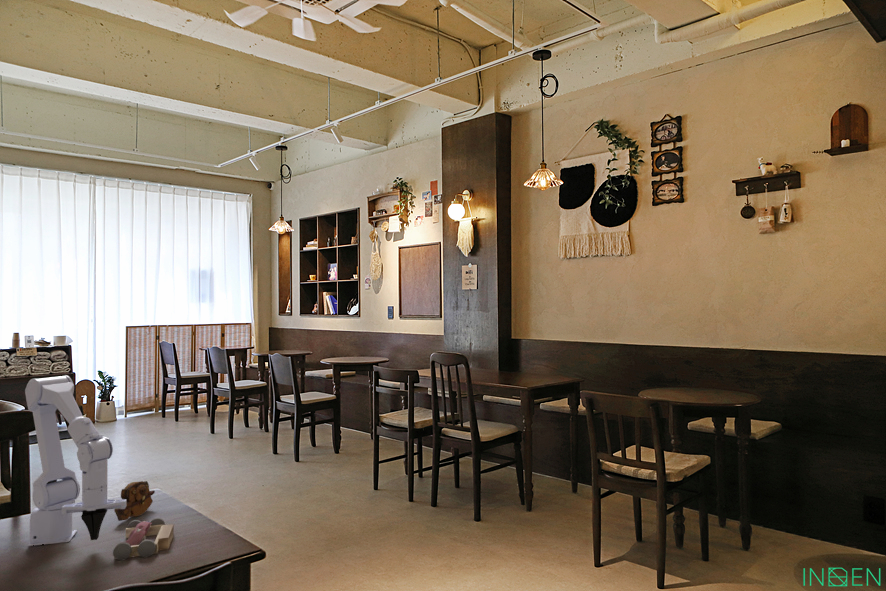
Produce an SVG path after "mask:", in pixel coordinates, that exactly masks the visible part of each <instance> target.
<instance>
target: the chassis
mask: <svg viewBox="0 0 886 591" xmlns="http://www.w3.org/2000/svg"><path fill="white" fill-rule="evenodd" d="M141 522H142V521H141V520H139V519H134V520H131V521H130V522H129V523H128V525H127V526H126V528H125V539H129V535H130V533H131V532H132V531H133V530H135V528H136V526H137V525H138V524H139V523H141ZM149 522H150V523H152V524H151V526H150V529H149V531H148V532H147V533H146V535H145V537H149V536H150V537H151V536H156V538H155V540H154V541H153V540H152V539H145V540H144V541H143V540H142V542H141V543H140V544H139V545H134V546H131V545H130V544H128V543H126V542H125V541H123V542H119V543H117V544H116V545H115V547H114V548H113V551H112V556H113V557H114V560H115V559H116V560H118V561H124V560H127V559H128V558H132V557H133V556H134V557H140V558H149V557H150V556H152V555H156V554H157V555H158V553H159V551H163V550H169V549H170V546H171V543H172V541H173V538H174V534H175V533H174V524H170V523H169V524H166V522H165V520H164V519H163V518H161V517H155V518H152V519H151V520H150V521H149ZM134 557H133V558H134Z"/></svg>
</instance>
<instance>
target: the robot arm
mask: <svg viewBox="0 0 886 591" xmlns="http://www.w3.org/2000/svg"><path fill="white" fill-rule="evenodd" d="M74 391H75V384H74V382H73V379H72V378H71V377H70V376H69V375H67V374H64V375H62V376H61V375H60V376H51V377H42V378H31V379H30V380H29V381H28V383H27V384H26V387H25V389H24V394H25V400H26V406H27V410H28V411H30V412H32V416H33V423H34V427H35V429H34V430H35V433H36V434H35V435H36V440H37V447H38V451H39V458H40V464H41V468H42V469H41V470H42V472H41V474H40V475H39V476H38V477H37V478H36V479H35V480H34V481H33V483H32V488H33V490H32V501H33V505H34V506H35V507H34V508H33V509H32V511H31V513H30V516H29V517H30V518H29V543H28V546H29V547H33V545H34V546H41V545H42V544H44V545H52V544H53V545H54V544H61V543H62V544H63V543H68V542H70V541H71V540H72V539H73V537H75V535H76V533H77V532H78V529H73V514H75V513H81V516H80V517H81V520H82V521H83V523H84V524H85V527H86V528H87V530H88V534H89V539H90V541H97V540H98V539H99V538H100V537H99V536H100V531H101V527H102V524H103V521H104V518H105V516H106V514H107V512H108V511H109V510H114V509H120V508H121V509H125V508H126V499H124V500H122V499H108V460H109V459H110V458H112V455H113V451H114V449H113V443H112V442H111V439H110V438H108V437H107V436H104V435H103V434H101V433H99V431H98V429H97V428H96V427H95V425H94V423H93V421H92V420H91V418H89V417H86V416H83V413H82V412H81V409H80V408H79V405H78V402H77V401H76V400H75V396H74V394H75V392H74ZM57 410H58V411H59V412H60V414H61V415H62V416H63V417H64V419H65V420H66V422H67V423H68V426H67V432H68V434H69V436H70V438H71V439H72V441H73V442H74V444H75V445H76V447H77V452H76V456H77V461H78V462H79V463H78V464H79V470H80V471H81V480H82V481H81V486H80V483H79V481H78V479H77V476H76V472H75V471H73V470H71V469H69V468H67V467H66V466H65V461H64V455H63V450H62V443H61V438H60V432H59V426H58V420H57V414H56V411H57ZM80 493H81V496H82V497H81V501H80V502H76V500H77V499H78V498H79V496H80Z"/></svg>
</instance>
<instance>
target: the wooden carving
mask: <svg viewBox="0 0 886 591" xmlns="http://www.w3.org/2000/svg"><path fill="white" fill-rule="evenodd" d="M154 494H156V492H155V490H150V484H149V482H148V481H147V480H144V481H143V480H141V481H131V482H130V483H128V484H127V485H125V487H124V488H122V489H121V491H120V498H121V500H124V499H126V508H125V509H121V508H120V509H113V510H114V513H115V516H116V517H117V520H118V522H121V521H127V520H128V519H130V518H132V517H139V516H141V515H143V514H144V513H146V512H147V511H148V510H149V508H150V507H151V505H152V504H153V499H152V496H153V495H154Z"/></svg>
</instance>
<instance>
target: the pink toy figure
mask: <svg viewBox="0 0 886 591" xmlns="http://www.w3.org/2000/svg"><path fill="white" fill-rule="evenodd" d="M150 522H151V521H147V520H146V521H145V520H143V521H141V523H139V524H138V525H137V526H136V528H135V530H133V531H132V532H131V533H130V535H129V538H127V539H126V540H125V541H124V542H126V543H128V544H130V545H131V546H134V545H139V544H140V543H141V542H142V541H144V540H147V539H146V538H147V536H145V535H146V533H147V532H148V531H149V529H150V526H151V524H152V523H150Z"/></svg>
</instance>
